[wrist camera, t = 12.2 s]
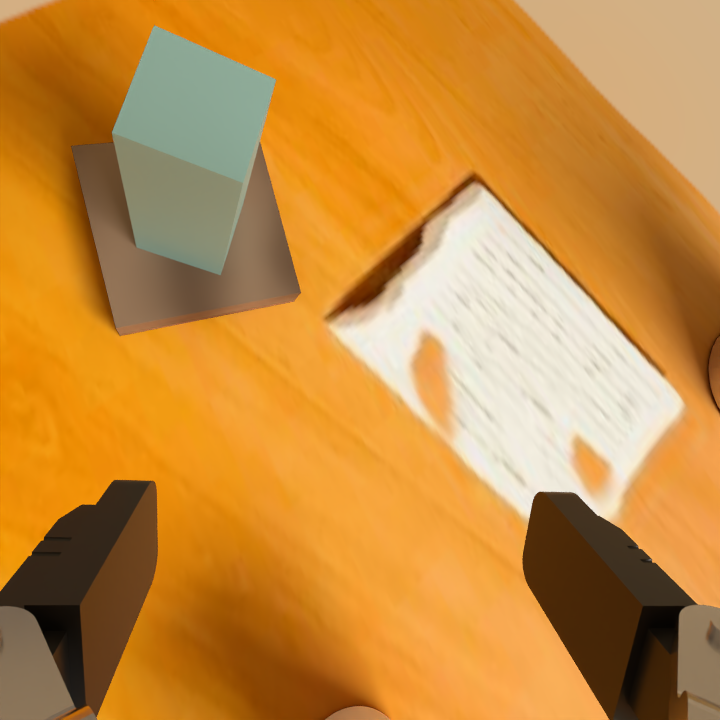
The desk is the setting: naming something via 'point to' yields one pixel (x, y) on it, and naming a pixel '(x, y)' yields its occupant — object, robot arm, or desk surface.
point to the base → (176, 279)
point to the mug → (358, 714)
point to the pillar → (189, 148)
